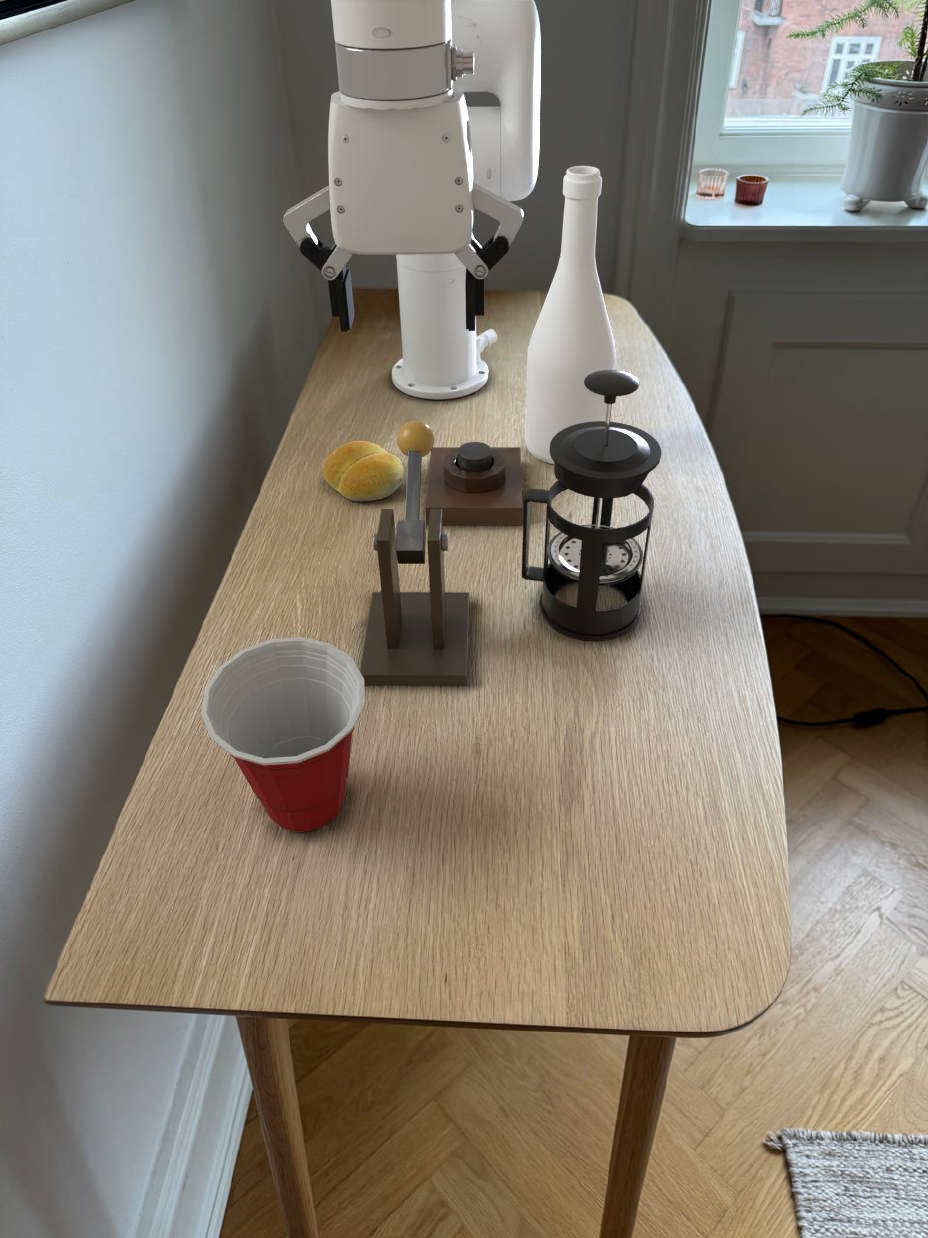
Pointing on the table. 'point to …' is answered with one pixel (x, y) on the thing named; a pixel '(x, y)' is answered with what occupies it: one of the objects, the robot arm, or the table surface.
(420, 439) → the grey lever with knob
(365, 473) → the bread roll
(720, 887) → the table surface
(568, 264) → the wine bottle
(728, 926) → the table surface
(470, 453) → the button
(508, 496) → the button block
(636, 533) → the french press
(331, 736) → the plastic cup
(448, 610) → the bracket
